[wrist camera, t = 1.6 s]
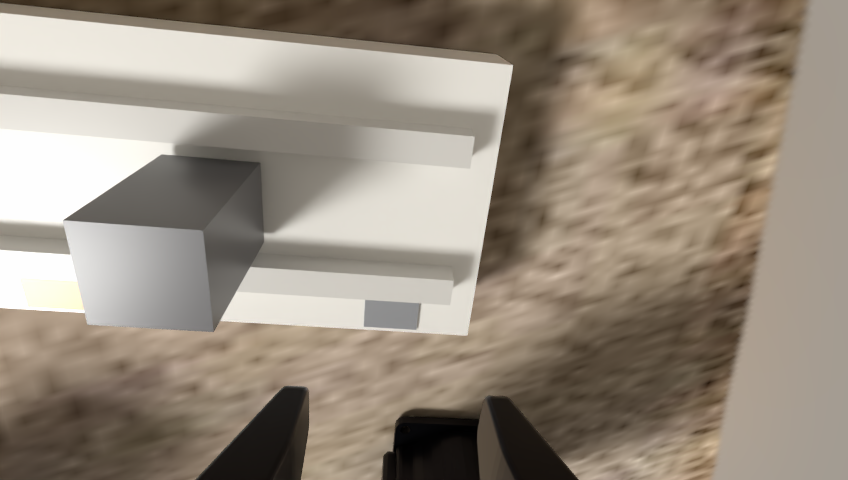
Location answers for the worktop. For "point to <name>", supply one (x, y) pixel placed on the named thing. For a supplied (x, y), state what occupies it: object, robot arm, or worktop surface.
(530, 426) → the robot arm
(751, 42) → the worktop surface
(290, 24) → the worktop surface
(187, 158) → the switch knob
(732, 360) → the worktop surface
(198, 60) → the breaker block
